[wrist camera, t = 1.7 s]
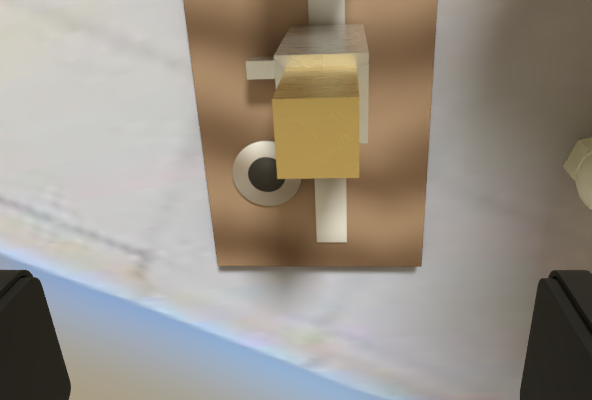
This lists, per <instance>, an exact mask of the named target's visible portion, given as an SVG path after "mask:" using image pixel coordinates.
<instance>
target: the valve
mask: <svg viewBox="0 0 592 400" xmlns="http://www.w3.org/2000/svg"><path fill="white" fill-rule="evenodd" d="M563 168H564V169H565V170H566V172H567V173H568V174H569V175H570V176H571V178H572V179H573V180H574V181H575V182H576V186H577V191H578V194H579V196H580V198H581V200H582V201H583V203H584V204H585V205H586V206H587V207H588V208H589V209H590V210H592V137H590V138H585V139H580V140H578V141H577V142H576V144H575V146H574V148H573V150H572V151H571V153H570V155H569V157H568V159H567V161H566V162H565V164H564V166H563Z"/></svg>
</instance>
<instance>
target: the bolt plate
mask: <svg viewBox="0 0 592 400" xmlns="http://www.w3.org/2000/svg"><path fill="white" fill-rule="evenodd" d="M183 1H184V8H185V16H186V24H187V32H188V39H189V47H190V55H191V62H192V70H193V78H194V85H195V93H196V101H197V109H198V116H199V124H200V132H201V139H202V147H203V155H204V162H205V170H206V178H207V185H208V193H209V201H210V209H211V216H212V224H213V232H214V239H215V247H216V255H217V262H218V266H421V264H422V248H423V232H424V215H425V199H426V182H427V166H428V150H429V133H430V117H431V101H432V84H433V68H434V51H435V35H436V19H437V2H438V0H183ZM345 24H363V25H364V30H365V35H366V40H367V46H368V51H369V89H368V143H359V178H312V179H277V166H276V152H275V137H274V123H273V108H272V98H273V96H274V93H275V91H276V85H275V79H251V80H247V72H246V60H247V59H248V58H250V57H274V54H275V52H276V51H277V49H278V47H279V46H280V44H281V42H282V40H283V39H284V37H285V35H286V34H287V32H288V30H289V28H290V27H292V26H319V25H345Z"/></svg>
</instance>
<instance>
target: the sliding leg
mask: <svg viewBox="0 0 592 400" xmlns="http://www.w3.org/2000/svg"><path fill="white" fill-rule="evenodd" d="M246 72H247V80H251V79H275V85H276V91H275V93H274V96H273V98H272V108H273V123H274V137H275V152H276V166H277V179H312V178H359V143H368V89H369V51H368V46H367V40H366V35H365V30H364V25H363V24H345V25H319V26H292V27H290V28H289V30H288V32H287V34H286V35H285V37H284V39H283V40H282V42H281V44H280V46H279V47H278V49H277V51H276V52H275V54H274V57H250V58H248V59H247V60H246Z"/></svg>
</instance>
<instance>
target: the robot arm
mask: <svg viewBox="0 0 592 400" xmlns="http://www.w3.org/2000/svg"><path fill="white" fill-rule="evenodd" d="M70 391H71V384H70V379H69V376H68V373H67V369H66V366H65V363H64V359H63V356H62V352H61V349H60V345H59V342H58V339H57V335H56V332H55V328H54V325H53V322H52V318H51V315H50V312H49V308H48V305H47V301H46V298H45V295H44V291H43V288H42V285H41V282H40V280H39V279H38V278H35V277H33V275H32V274H31V273H30V272H29V271H27V270H0V400H69V396H70ZM520 400H592V274H591V273H590V272H589V271H586V270H554V271H552V272H551V273H550V275H549V278H542V279H540V281H539V283H538V288H537V294H536V300H535V306H534V312H533V318H532V323H531V329H530V335H529V341H528V347H527V353H526V359H525V365H524V371H523V377H522V383H521V389H520Z"/></svg>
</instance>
